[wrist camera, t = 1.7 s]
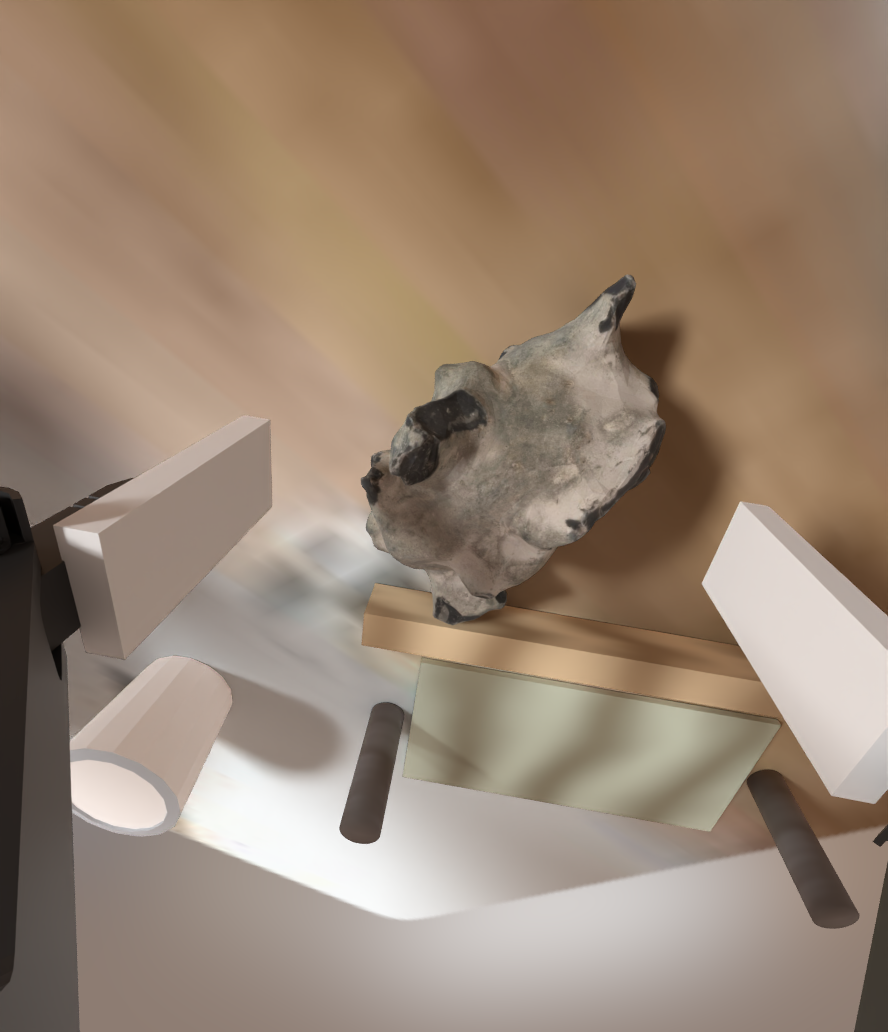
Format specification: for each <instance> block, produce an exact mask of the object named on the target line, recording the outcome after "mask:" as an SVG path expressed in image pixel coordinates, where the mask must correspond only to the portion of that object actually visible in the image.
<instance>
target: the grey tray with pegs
mask: <svg viewBox="0 0 888 1032" xmlns="http://www.w3.org/2000/svg"><path fill="white" fill-rule="evenodd" d="M362 645H364V646H370V647H375V648H381V649H387V650H393V651H398V652H404V653H410V654H415V655H421V656H427V657H433V658H438V659H444V660H450V661H456V662H461V663H467V664H473V665H478V666H484V667H490V668H496V669H501V670H507V671H513V672H519V673H524V674H530V675H536V676H542V677H547V678H553V679H559V680H564V681H570V682H576V683H582V684H587V685H593V686H599V687H605V688H610V689H616V690H622V691H627V692H633V693H639V694H645V695H650V696H656V697H662V698H668V699H673V700H679V701H685V702H691V703H696V704H702V705H708V706H713V707H719V708H725V709H731V710H736V711H742V712H748V713H754V714H759V715H765V716H771V717H776V718H782V719H784V718H783V716H782V714H781V713H780V711H779V709H778V708H777V706H776V704H775V703H774V701H773V700H772V698H771V696H770V695H769V693H768V691H767V690H766V688H765V686H764V685H763V683H762V682H761V680H760V678H759V677H758V675H757V673H756V672H755V670H754V669H753V667H752V665H751V664H750V662H749V660H748V659H747V657H746V655H745V654H744V652H743V651H742V649H741V647H740V646H737V645H731V644H726V643H720V642H714V641H708V640H702V639H697V638H691V637H685V636H679V635H673V634H668V633H662V632H656V631H650V630H644V629H639V628H633V627H627V626H621V625H615V624H610V623H604V622H598V621H592V620H586V619H581V618H575V617H569V616H563V615H557V614H552V613H546V612H540V611H534V610H528V609H523V608H517V607H511V606H504V607H503V608H502V609H497V610H491V611H488V612H487V613H485V614H483V615H482V616H480V617H479V618H477V619H475V620H471V621H466V622H462V623H459V624H456V625H450V624H447V623H444V622H442V621H440V620H438V619H436V618H434V617H433V598H432V593H430V592H424V591H418V590H412V589H406V588H401V587H395V586H389V585H383V584H377V583H375V586H374V588H373V591H372V594H371V596H370V599H369V602H368V604H367V607H366V610H365V613H364V622H363V633H362ZM403 719H404V713H403V711H402V710H401V709H400V708H399V707H398V706H397V705H395V704H392V703H379V704H377V705H375V706H374V707H373V709H372V711H371V715H370V719H369V722H368V726H367V729H366V733H365V737H364V740H363V744H362V748H361V751H360V755H359V758H358V762H357V766H356V769H355V773H354V777H353V780H352V784H351V787H350V791H349V795H348V798H347V802H346V806H345V809H344V813H343V816H342V820H341V824H340V832H341V834H342V835H343V836H344V837H345V838H346V839H348V840H350V841H352V842H355V843H360V844H369V843H373V842H375V841H377V840H378V839H379V837H380V834H381V829H382V824H383V819H384V814H385V809H386V804H387V799H388V794H389V789H390V784H391V779H392V774H393V769H394V764H395V759H396V754H397V749H398V744H399V739H400V734H401V729H402V724H403ZM780 726H781V724H780V723H779V721H778V720H777V719H772V718H766V717H760V716H754V715H749V714H743V713H737V712H731V711H726V710H720V709H714V708H709V707H703V706H697V705H691V704H686V703H680V702H674V701H668V700H663V699H657V698H651V697H646V696H640V695H634V694H628V693H623V692H617V691H611V690H605V689H600V688H594V687H588V686H583V685H577V684H571V683H565V682H560V681H554V680H548V679H542V678H537V677H531V676H525V675H520V674H514V673H508V672H502V671H497V670H491V669H485V668H479V667H474V666H468V665H462V664H457V663H451V662H445V661H439V660H434V659H428V658H422V660H421V665H420V672H419V678H418V684H417V690H416V696H415V703H414V709H413V715H412V721H411V727H410V734H409V740H408V746H407V752H406V758H405V765H404V771H403V777H406V778H412V779H417V780H423V781H429V782H434V783H440V784H445V785H451V786H456V787H462V788H468V789H473V790H479V791H484V792H490V793H496V794H501V795H507V796H512V797H518V798H524V799H529V800H535V801H540V802H546V803H552V804H557V805H563V806H568V807H574V808H580V809H585V810H591V811H596V812H602V813H608V814H613V815H619V816H624V817H630V818H636V819H641V820H647V821H652V822H658V823H664V824H669V825H675V826H680V827H686V828H691V829H697V830H703V831H708V832H710V831H711V830H712V828H713V827H714V825H715V824H716V822H717V821H718V819H719V818H720V816H721V815H722V813H723V812H724V810H725V809H726V807H727V806H728V804H729V803H730V801H731V800H732V798H733V797H734V795H735V794H736V792H737V791H738V789H739V788H740V786H741V785H742V783H743V782H744V780H745V779H746V777H747V776H748V774H749V773H750V771H751V770H752V768H753V767H754V765H755V764H756V762H757V761H758V759H759V758H760V756H761V755H762V753H763V752H764V750H765V749H766V747H767V746H768V744H769V743H770V741H771V740H772V738H773V737H774V735H775V734H776V732H777V731H778V729H779V728H780ZM747 785H748V787H749V790H750V792H751V794H752V796H753V798H754V800H755V802H756V804H757V806H758V808H759V810H760V812H761V814H762V817H763V819H764V821H765V823H766V825H767V827H768V829H769V831H770V833H771V835H772V837H773V839H774V841H775V844H776V846H777V848H778V850H779V852H780V854H781V856H782V858H783V860H784V862H785V864H786V866H787V868H788V870H789V873H790V875H791V877H792V879H793V881H794V883H795V885H796V887H797V889H798V891H799V893H800V895H801V898H802V900H803V902H804V904H805V906H806V908H807V910H808V912H809V914H810V916H811V918H812V920H813V922H814V923H815V924H816V925H818V926H820V927H824V928H842V927H846V926H849V925H852V924H853V923H855V922H856V921H857V920H858V919H859V913H858V911H857V909H856V908H855V906H854V904H853V902H852V901H851V899H850V897H849V895H848V893H847V892H846V890H845V888H844V886H843V884H842V883H841V881H840V879H839V877H838V875H837V874H836V872H835V870H834V868H833V866H832V865H831V863H830V861H829V859H828V857H827V856H826V854H825V852H824V850H823V848H822V847H821V845H820V843H819V841H818V839H817V838H816V836H815V834H814V832H813V831H812V829H811V827H810V825H809V823H808V822H807V820H806V818H805V816H804V814H803V813H802V811H801V809H800V807H799V805H798V804H797V802H796V800H795V798H794V796H793V795H792V793H791V791H790V789H789V787H788V786H787V784H786V782H785V780H784V778H783V777H782V775H781V774H780V773H778V772H776V771H773V770H762V771H758V772H755V773H754V774H752V775H751V776H750V777H749V778H748V779H747Z"/></svg>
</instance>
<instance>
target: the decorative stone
mask: <svg viewBox="0 0 888 1032" xmlns="http://www.w3.org/2000/svg"><path fill="white" fill-rule="evenodd" d="M635 286H636V283H635V280H634V278H633V276H631V275H625V276H624V277H623V278H621V279H620V280H619V281H618V282H617V283H615V284H613V285H612V286H610V287H609V288H607V289H606V290H605V291H604V292H603V293H602V294H601V295H600V296H599V297H598V298H597V299H596V300H595V301H594V302H593V303H592V304H591V305H590V306H589V307H588V308H587V309H585V310H584V311H583V312H582V313H581V314H580V315H579V316H578V317H577V318H576V319H574V320H572V321H570V322H569V323H567V324H566V325H564V326H563V327H561V328H559V329H558V330H556V331H554V332H551V333H548V334H545V335H541V336H537V337H534V338H531V339H530V340H528V341H526V342H525V343H523V344H521V345H513V346H509V347H508V348H507V349H505V350H504V351H503V353H502V354H501V356H500V358H499V360H498V361H497V363H495V364H494V365H492V366H491V367H489V366H487V365H484V364H481V363H478V362H475V361H471V362H465V363H458V364H445V365H442V366H440V367H439V368H438V369H437V370H436V372H435V391H434V394H433V397H432V401H431V402H428V403H426V404H424V405H422V406H419V407H415V408H414V410H413V411H412V412H411V413H409V414H408V415H407V418H406V420H405V423H404V424H403V426H402V427H401V428H400V430H399V431H398V432H397V433H396V435H395V436H394V438H393V441H392V444H391V450H386V451H380V452H378V453H375V454H374V455H372V457H371V467H372V468H371V469H370V471H369V473H368V474H367V475H366V476H365V477H362V478H361V485H362V487H363V488H364V489H365V490H366V492H367V499H368V502H369V505H370V507H371V510H372V511H371V513H370V515H369V517H368V520H367V523H366V530H367V532H368V533H369V535H370V536H371V538H372V541H373V544H374V546H375V547H376V548H377V549H378V550H381V551H384V552H387V553H390V554H391V555H392V556H393V557H394V558H395V559H396V560H398V561H399V562H401V563H402V564H404V565H406V566H409V567H411V568H414V569H424V570H425V571H426V572H427V574H428V576H429V578H430V581H431V587H432V598H433V617H434V618H436V619H438V620H440V621H442V622H444V623H447V624H450V625H456V624H459V623H462V622H466V621H471V620H475V619H477V618H479V617H480V616H482V615H483V614H485V613H487V612H488V611H491V610H497V609H502V608H503V607H504V606H505V604H506V601H507V593H506V591H505V589H507V588H510V587H513V586H516V585H519V584H521V583H522V582H524V581H526V580H527V579H529V578H530V577H531V576H533V575H534V574H535V573H536V572H537V571H539V570H540V569H541V568H542V567H543V566H544V565H545V564H546V562H547V561H548V560H549V558H550V557H551V555H552V554H553V553H554V551H555V550H556V548H557V547H558V546H563V545H567V544H569V543H572V542H575V541H577V540H578V539H580V538H581V537H583V536H584V535H585V534H586V533H587V532H588V531H589V530H590V529H591V528H592V526H593V525H594V523H595V521H597V520H598V519H600V518H601V517H603V516H604V515H605V514H606V513H607V512H608V511H609V510H610V509H611V508H612V507H613V505H614V504H615V503H616V502H617V501H618V500H619V499H620V498H621V497H622V496H623V495H624V494H625V493H626V492H627V491H628V490H630V489H632V488H634V487H636V486H638V485H639V484H640V483H641V482H643V481H644V480H645V479H646V478H647V476H648V475H649V474H650V469H649V468H650V466H651V465H652V464H653V462H654V460H655V458H656V456H657V454H658V452H659V449H660V445H661V442H662V439H663V436H664V434H665V429H666V424H665V421H664V420H663V419H661V418H659V416H658V414H657V406H658V402H659V399H658V398H659V393H658V386H657V384H656V382H655V381H654V380H653V379H652V378H651V377H649V376H648V375H646V374H644V373H643V372H641V371H640V370H638V369H637V368H636V367H635V366H634V365H633V364H632V363H631V362H630V361H629V359H628V358H627V357H626V355H625V353H624V350H623V347H622V344H621V335H620V320H621V318H622V315H623V313H624V311H625V310H626V308H627V306H628V304H629V303H630V301H631V299H632V296H633V294H634V291H635Z"/></svg>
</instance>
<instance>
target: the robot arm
mask: <svg viewBox="0 0 888 1032" xmlns="http://www.w3.org/2000/svg"><path fill="white" fill-rule="evenodd" d="M271 507H272V475H271V429H270V419H264V418H259V417H253V416H247V415H243V416H241V417H239V418H238V419H236V420H234V421H232V422H231V423H229V424H227V425H225V426H224V427H222V428H220V429H219V430H217V431H215V432H213V433H212V434H210V435H208V436H206V437H205V438H203V439H201V440H200V441H198V442H196V443H194V444H193V445H191V446H189V447H187V448H186V449H184V450H182V451H181V452H179V453H177V454H175V455H174V456H172V457H170V458H168V459H167V460H165V461H163V462H161V463H160V464H158V465H156V466H155V467H153V468H151V469H149V470H148V471H146V472H144V473H142V474H141V475H139V476H137V477H136V478H131V479H127V480H124V481H121V482H117V483H114V484H110V485H107V486H105V487H104V488H102V489H100V490H98V491H97V492H95V493H93V494H91V495H89V498H84V499H82V500H80V501H79V502H77V503H75V504H74V506H73V507H68V508H66V509H64V510H62V511H61V512H59V513H57V514H55V515H53V516H52V517H50V518H48V519H46V520H44V521H43V522H41V523H39V524H37V525H35V526H34V527H32V528H30V525H29V521H28V518H27V514H26V510H25V507H24V503H23V500H22V497H21V495H20V494H19V492H17V491H15V490H12V489H10V488H5V487H0V1032H80V1030H79V1002H78V972H77V943H76V915H75V887H74V886H75V885H74V856H73V828H72V827H73V826H72V797H71V768H70V739H69V710H68V681H67V656H66V652H65V649H64V645H63V641H65V640H66V639H67V638H68V637H69V636H70V635H72V634H73V633H74V632H75V631H76V630H77V629H79V628H80V632H81V636H82V640H83V644H84V648H85V652H87V653H92V654H97V655H102V656H107V657H113V658H118V659H123V660H125V659H126V658H127V657H128V656H129V655H130V654H131V653H132V652H133V651H134V650H135V649H136V648H137V647H138V646H139V645H140V644H141V643H142V641H143V640H144V639H145V638H146V637H147V636H148V635H149V634H150V633H151V632H152V631H153V630H154V629H155V628H156V627H157V626H158V625H159V624H160V623H161V622H162V621H163V620H164V619H165V618H166V616H167V615H168V614H169V613H170V612H171V611H172V610H173V609H174V608H175V607H176V606H177V605H178V604H179V603H180V602H181V601H182V600H183V599H184V598H185V597H186V596H187V595H188V594H189V593H190V592H191V590H192V589H193V588H194V587H195V586H196V585H197V584H198V583H199V582H200V581H201V580H202V579H203V578H204V577H205V576H206V575H207V574H208V573H209V572H210V571H211V570H212V569H213V568H214V567H215V566H216V564H217V563H218V562H219V561H220V560H221V559H222V558H223V557H224V556H225V555H226V554H227V553H228V552H229V551H230V550H231V549H232V548H233V547H234V546H235V545H236V544H237V543H238V542H239V541H240V539H241V538H242V537H243V536H244V535H245V534H246V533H247V532H248V531H249V530H250V529H251V528H252V527H253V526H254V525H255V524H256V523H257V522H258V521H259V520H260V519H261V518H262V517H263V516H264V515H265V513H266V512H267V511H268V510H269V509H270V508H271ZM702 585H703V587H704V588H705V590H706V592H707V593H708V595H709V597H710V598H711V600H712V601H713V603H714V605H715V606H716V608H717V610H718V611H719V613H720V615H721V616H722V618H723V619H724V621H725V623H726V624H727V626H728V628H729V629H730V631H731V633H732V634H733V636H734V637H735V639H736V641H737V642H738V644H739V646H740V647H741V649H742V651H743V652H744V654H745V655H746V657H747V659H748V660H749V662H750V664H751V665H752V667H753V669H754V670H755V672H756V673H757V675H758V677H759V678H760V680H761V682H762V683H763V685H764V686H765V688H766V690H767V691H768V693H769V695H770V696H771V698H772V700H773V701H774V703H775V704H776V706H777V708H778V709H779V711H780V713H781V714H782V716H783V718H784V719H785V721H786V722H787V724H788V726H789V727H790V729H791V731H792V732H793V734H794V736H795V737H796V739H797V740H798V742H799V744H800V745H801V747H802V749H803V750H804V752H805V754H806V755H807V757H808V758H809V760H810V762H811V763H812V765H813V767H814V768H815V770H816V772H817V773H818V775H819V776H820V778H821V780H822V781H823V783H824V785H825V786H826V788H827V790H828V791H829V793H830V794H831V796H835V797H840V798H846V799H851V800H856V801H861V802H866V803H872V804H875V803H876V802H877V801H878V800H879V799H880V798H881V796H882V795H883V794H884V793H885V792H886V791H887V790H888V616H887V615H886V614H885V613H884V612H883V611H882V610H880V609H879V608H878V607H877V606H876V605H875V604H874V603H873V602H872V601H871V600H870V599H869V598H867V597H866V596H865V595H864V594H863V593H862V592H861V591H860V590H859V589H858V588H857V587H856V586H854V585H853V584H852V583H851V582H850V581H849V580H848V579H847V578H846V577H845V576H844V575H843V574H842V573H840V572H839V571H838V570H837V569H836V568H835V567H834V566H833V565H832V564H831V563H830V562H829V561H827V560H826V559H825V558H824V557H823V556H822V555H821V554H820V553H819V552H818V551H817V550H816V549H814V548H813V547H812V546H811V545H810V544H809V543H808V542H807V541H806V540H805V539H804V538H803V537H801V536H800V535H799V534H798V533H797V532H796V531H795V530H794V529H793V528H792V527H791V526H790V525H788V524H787V523H786V522H785V521H784V520H783V519H782V518H781V517H780V516H779V515H778V514H777V513H775V512H774V511H773V510H772V509H771V508H770V507H769V506H764V505H759V504H753V503H747V502H741V501H740V503H739V505H738V507H737V509H736V512H735V514H734V516H733V518H732V520H731V522H730V524H729V527H728V529H727V531H726V533H725V535H724V537H723V539H722V542H721V544H720V546H719V548H718V550H717V552H716V554H715V556H714V559H713V561H712V563H711V565H710V567H709V569H708V571H707V574H706V576H705V578H704V580H703V582H702ZM885 841H888V825H887V826H886V827H885V828H884V829H883V830H882V831H881V832H880V834H878V836H877V837H876V838H875V840H874V841H873V842H874V843H876V844H877V845H878V846H882V844H883V843H884V842H885ZM854 1032H888V863H887V869H886V874H885V878H884V884H883V889H882V894H881V899H880V904H879V909H878V914H877V919H876V924H875V929H874V934H873V940H872V945H871V949H870V954H869V960H868V964H867V970H866V975H865V980H864V985H863V990H862V995H861V1000H860V1005H859V1010H858V1015H857V1020H856V1025H855V1030H854Z"/></svg>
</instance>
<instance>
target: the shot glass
mask: <svg viewBox="0 0 888 1032" xmlns="http://www.w3.org/2000/svg"><path fill="white" fill-rule="evenodd" d="M232 703H233V700H232V693H231V689H230V688H229V686H228V684H227V683H226V681H225V680H224V678H223V677H222V676H221V675H220V674H218V673H217V672H216V671H215V670H213V669H212V668H211V667H210V666H208V665H206V664H204V663H202V662H199V661H197V660H195V659H192V658H188V657H181V656H174V655H173V656H168V657H162V658H158V659H156V660H155V661H154V662H152V663H151V664H150V665H148V666H147V667H146V668H145V669H144V670H143V671H142V672H141V673H140V674H139V675H138V676H137V677H136V678H135V679H134V680H133V681H132V682H131V683H130V684H129V685H128V686H126V687H125V688H124V689H123V690H122V691H121V692H120V693H119V694H118V695H117V696H116V697H115V698H114V699H113V700H112V701H111V702H110V703H109V704H108V705H107V706H106V707H105V708H104V709H103V710H101V711H100V712H99V713H98V714H97V715H96V716H95V717H94V718H93V719H92V720H91V721H90V722H89V723H88V724H87V725H86V726H85V727H84V728H83V729H82V730H81V731H80V732H79V733H78V734H76V735H75V736H74V737H73V738H72V739H71V740H70V768H71V797H72V813H74V814H76V815H77V816H79V817H80V818H82V819H84V820H85V821H87V822H89V823H90V824H93V825H95V826H98V827H101V828H103V829H106V830H109V831H112V832H114V833H120V834H126V835H133V836H148V835H159V834H162V833H163V832H165V831H167V830H169V829H171V828H173V827H175V825H176V823H177V821H178V819H179V817H180V814H181V812H182V810H183V808H184V806H185V804H186V802H187V800H188V797H189V795H190V793H191V791H192V789H193V787H194V785H195V782H196V780H197V778H198V776H199V774H200V772H201V770H202V768H203V765H204V763H205V761H206V759H207V757H208V755H209V753H210V750H211V748H212V746H213V744H214V742H215V740H216V738H217V736H218V733H219V731H220V729H221V727H222V725H223V723H224V721H225V718H226V716H227V714H228V712H229V710H230V708H231V706H232Z"/></svg>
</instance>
